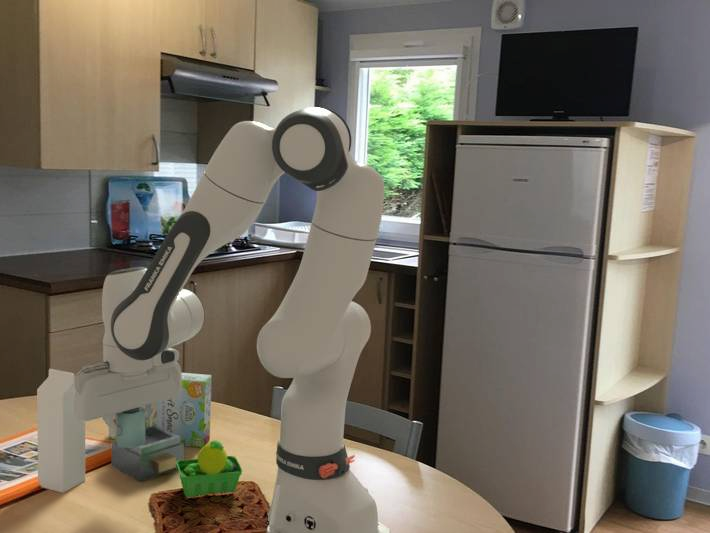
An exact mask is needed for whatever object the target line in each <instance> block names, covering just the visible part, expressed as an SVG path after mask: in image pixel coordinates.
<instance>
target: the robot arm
mask: <svg viewBox="0 0 710 533" xmlns="http://www.w3.org/2000/svg"><path fill="white" fill-rule="evenodd" d="M351 148H352V135H351V130H350V127H349V125H348V124H347V122H346V120H345V119H344V118H343V117H342V116H341V115H340V114H339V113H336V111H333V110H332V109H328V108H324V107H323V108H322V107H317V106H309V107H305V108H300V109H299V110H298V109H297V110H296V111H293V112H291V113H289V114H288V115H286V116H284V117H283V118H282V119H281V120H280V122H279V123H278V124H277V126H276V127H270V126H268V125H265V124H263V123H260V122H258V121H255V120H253V121H251V120H244V121H240V122H237V123H236V124H234V125H233V126H231V128H230V129H229V131H228V132H227V133H226V134H225V136H224V137H223V139H222V140H221V142H220V143H219V145H218V146H217V148H216V149H215V151H214V152H213V155H212V156H211V157H210V159H209V161H208V163H207V166H206V168H205V169H204V171H203V173H202V176H201V178H200V179H199V182H198V183H197V185H196V188H195V189H194V191H193V194H192V195H191V197H190V198H189V200H188V202H187V204H186V205H185V207H184V209H183V211H182V212H181V213H180V215H179V217H178V218H177V219H176V221H175V223H174V224H173V226H172V227H171V228H170V230H169V232H168V233H167V234H166V236H165V238H164V239H163V241H162V242H161V244H160V247H159V248H158V250H157V252H156V253H155V255H154V256H153V258H152V260H151V262H150V263H149V265H148V267H145V266H136V267H129V268H124V269H119V270H114V271H111V272H110V273H109V274H107V275H106V276H105V279H104V282H103V287H102V297H101V315H102V322H103V325H104V335H103V338H102V354H103V355H102V359H103V360H102V362H98V363H95V364H92V365H86V366H83V367H82V368H81V369H80V370H79V371H78V372H77V373H76V374H75V388H76V390H75V399H74V413H75V414H76V415H77V416H78V417H79V418H81V419H83V420H85V422H89V421H93V420H97V419H100V418H102V420H103V421H104V423H105V424H106V425H107V427H108V435H109V437H110V436H111V437H113V438H114V437H117V436H120V435H121V426H118V425H116V424H115V423H114V421H113V420H114V419H116V413H120V412H123V411H127V410H131V409H135V408H138V407H142V406H145V407H147V409H146V411H145V428H148V427H151V426H152V418H153V416H154V414H155V412H156V410H157V408H158V405H157V402H161V401H164V400H168V399H172V398H175V397H178V396H179V394H180V393H181V391H182V375H181V373H182V369H181V366H180V364H179V363H178V361H179V359H180V352H179V351H178V350H177V349H175V348H174V347H175V346H178V345H179V344H181V343H184V342H186V341H188V340H190V339H192V338H194V337H195V336H196V335H198V334H199V333H200V332H201V330H202V329H203V326H204V325H205V321H206V320H205V319H206V317H205V316H206V315H205V313H206V312H205V308H204V305H203V302H202V300H201V299H200V297H199V296H197V293H196V292H193V291H192V290H190V289H188V288H184V287H185V286H186V284H187V282H188V280H189V278H190V277H191V274H192V273H193V272H194V270H195V269H196V267H197V266H198V265H199V264H200V263H201V262H202V261H203V260H204V259H205V258H206V257H208V256H209V255H210V254H212V253H213V252H215V251H216V250H218V249H220V248H222V247H223V246H225V245H227V244H229V243H231V242H233V241H234V240H236V239H238V238H240V237H242V236H243V235H245V233H247V231H248V230H249V229H250V228H251V227H252V225H253V223H254V222H255V221H256V220H257V218H258V217H259V215H260V213H261V211H262V209H263V207H264V205H265V203H266V202H267V200H268V197H269V195H270V193H271V190H272V189H273V187H274V186H275V184H276V182H277V181H278V180H279V178H280V177H282V175H284V174H286V175H287V176H289V177H290V178H292V179H293V180H296V181H297V182H299V183H301V184H302V185H304V186H306V187H307V188H309V189H310V190H312V191H314V192H316V202H315V207H314V213H313V216H312V219H311V223H310V228H309V231H308V235H307V239H306V243H305V246H304V247H305V248H304V250H303V255H302V258H301V262H300V264H299V268H298V270H297V272H296V274H295V276H294V278H293V281H292V283H291V284H290V286H289V288H288V290H287V292H286V294H285V296H284V297H283V300H282V301H281V303H280V305H279V306H278V308H277V310H276V311H275V312H274V314H273V315H272V317H271V318H270V319H269V320H268V321H267V322H266V323H265V324H264V325H263V326H262V328H261V329H260V330H259V332H258V335H257V339H256V351H257V356H258V360H259V361H260V363H261V365H262V366H263V368H264V369H265V370H266V371H267V372H268V373H270V374H271V375H273V376H274V377H277V378H280V379H289V378H290V379H291V378H292V379H293V380H292V381H291V384H290V385H289V387H288V388H287V390H286V392H285V393H284V395H283V397H282V400H281V407H280V408H281V410H280V428H279V430H280V431H279V432H280V433H279V440H278V441H277V444H276V451H275V457H276V458H275V460H276V461H275V464H276V465H277V473H276V479H275V483H274V489H273V494H272V499H271V504H270V506H269V510H268V512H267V515H268V521H269V525H268V524H267V528H266V532H265V533H392V532H391V529H390V528H389V527H388V526H386V525H385V524H384V523H382V522H380V521H379V518H378V517H379V516H378V506H377V502H376V500H375V499H374V497H373V496H372V495H371V494H370V493H369V490H368V489H367V487H366V486H364V485H363V484H362V482H361V481H360V480H359V479H358V478H357V476H356V475H355V474H354V473H353V471H352V470H351V469H350V468H351V465H350V464H352V463H353V462H355V459H354V458H355V457H356V456H355V455H354V454H353V455H350V456H348V453H347V449H346V445H345V444H344V434H345V432H344V431H345V419H346V406H347V400H348V396H349V392H350V389H351V384H352V382H353V379H354V375H355V371H356V367H357V364H358V361H359V358H360V356H361V353H362V351H363V349H364V348H365V346H366V344H367V342H368V341H369V339H370V336H371V331H372V325H371V324H372V323H371V320H370V317H369V315H368V313H367V312H366V309H365V308H363V306H361V305H360V304H358V303H357V302H355V301H353V299H354V297H355V296H356V295H357V293H358V292H359V291H360V289H361V288H362V287H363V285H364V283H365V282H366V280H367V276H368V272H369V268H370V264H371V262H372V258H373V253H374V250H375V247H376V243H377V239H378V235H379V231H380V226H381V222H382V216H383V208H384V200H385V188H386V187H385V186H386V185H385V181H384V178H383V177H382V175H381V173H379V171H378V170H376V169H374V168H373V167H372V166H370V165H368V164H365V163H362V162H358V161H357V160H355V159H354V158H353V157H352V156H351V153H350V151H351Z"/></svg>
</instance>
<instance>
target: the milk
mask: <svg viewBox="0 0 710 533" xmlns="http://www.w3.org/2000/svg"><path fill="white" fill-rule="evenodd" d="M75 376H76V374H75V373H72V372H68V371H64V370H59V369H53V368H49V369H48V377H47V378H46V379H45V380H44V381H43V382H42V383H41V385H40V386H38V387H37V389H36V390H37V391H36V405H37V406H36V407H37V408H36V410H37V419H36V421H37V422H36V423H37V424H36V425H37V426H36V427H37V430H36V431H37V483H38V482H39V483H40V485H41V487H40V488H42V489H47V490H52V491H55V492H58V493H62V494H63V493H66V492H68V491H69V490H71V489H73V488H75V487H77V486H78V485H81V483H84V482H85V481H86V420H83V419H81V418H79V417H78V416H77V415H76V414H75V413H74V399H75V390H76V388H75Z"/></svg>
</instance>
